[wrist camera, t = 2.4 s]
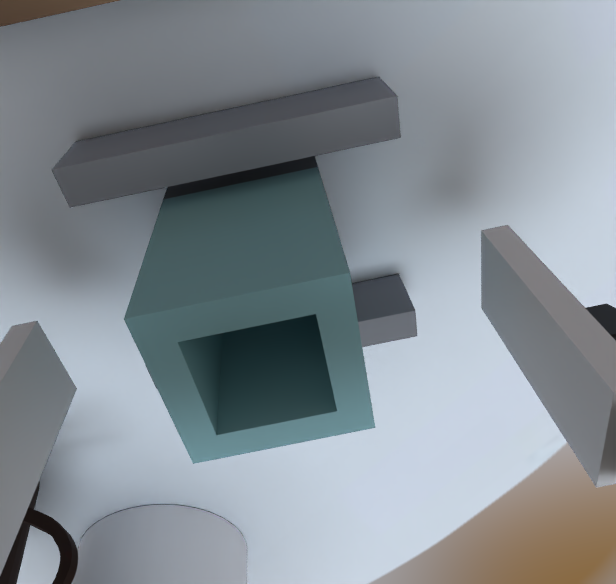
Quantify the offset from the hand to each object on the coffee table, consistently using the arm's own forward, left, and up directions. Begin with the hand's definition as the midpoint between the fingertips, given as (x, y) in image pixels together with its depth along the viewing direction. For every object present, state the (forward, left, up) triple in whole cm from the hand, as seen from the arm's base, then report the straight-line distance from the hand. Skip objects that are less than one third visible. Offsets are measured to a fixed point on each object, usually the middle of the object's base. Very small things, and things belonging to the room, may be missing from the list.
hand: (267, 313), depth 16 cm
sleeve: (0, 0, -5) cm, 5 cm away
